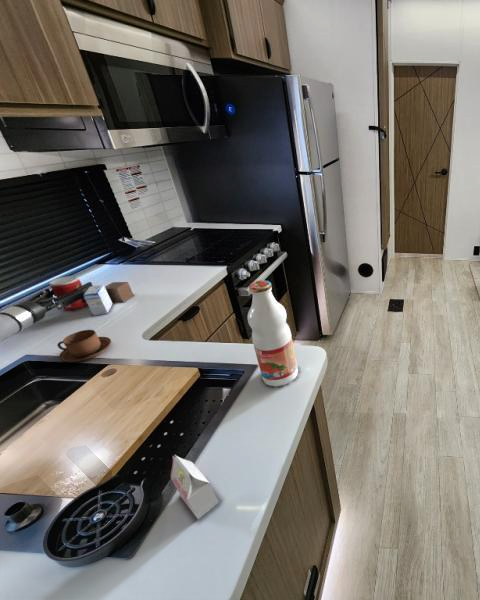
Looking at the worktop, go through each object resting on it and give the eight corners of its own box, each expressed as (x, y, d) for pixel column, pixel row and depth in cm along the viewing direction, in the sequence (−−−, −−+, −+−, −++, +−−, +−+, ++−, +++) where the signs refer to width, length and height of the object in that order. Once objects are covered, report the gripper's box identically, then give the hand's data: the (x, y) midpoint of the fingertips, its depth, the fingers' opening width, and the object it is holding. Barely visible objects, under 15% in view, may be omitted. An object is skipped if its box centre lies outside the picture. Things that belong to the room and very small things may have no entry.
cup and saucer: (59, 371, 93) (48, 353, 90) (65, 350, 102) (55, 334, 99) (112, 355, 99) (103, 338, 96) (114, 337, 108) (106, 321, 105)
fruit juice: (305, 373, 92) (288, 282, 79) (276, 392, 85) (252, 297, 72) (285, 360, 97) (266, 272, 84) (255, 377, 90) (230, 285, 77)
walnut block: (107, 302, 129) (101, 288, 127) (118, 295, 135) (112, 282, 132) (123, 302, 130) (116, 288, 127) (133, 295, 135) (127, 281, 132)
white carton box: (201, 481, 64) (184, 447, 59) (218, 502, 61) (202, 467, 56) (181, 496, 62) (162, 462, 57) (198, 519, 58) (179, 484, 53)
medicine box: (99, 306, 126) (88, 286, 122) (113, 304, 128) (103, 284, 124) (93, 316, 120) (82, 295, 116) (108, 313, 122) (98, 292, 118)
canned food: (91, 306, 126) (78, 279, 121) (63, 313, 122) (48, 286, 116) (90, 299, 131) (77, 273, 126) (63, 305, 127) (48, 279, 121)
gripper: (-4, 325, 109) (57, 294, 129) (60, 324, 110) (111, 293, 130) (-18, 306, 106) (47, 276, 126) (48, 305, 106) (103, 276, 126)
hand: (80, 285), depth 128 cm, fingers closed on canned food, 8 cm apart
